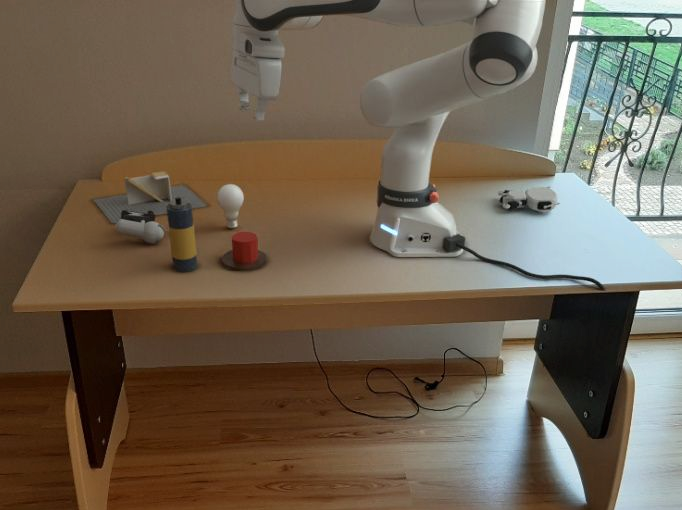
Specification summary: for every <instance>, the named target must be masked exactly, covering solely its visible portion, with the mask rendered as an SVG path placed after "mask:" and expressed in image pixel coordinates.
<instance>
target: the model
mask: <svg viewBox="0 0 682 510" xmlns="http://www.w3.org/2000/svg"><path fill="white" fill-rule="evenodd" d="M124 178H125V179H124V183H125V191H126V198H127V204H128V205H133V204H139V203H144V202H150V201H156V200H157V201H159V202H160V203H163V202H164V200H163V199H168V200H169V201H171V200H173V196H172V187H173V186H171V179H170V175H168V173H167V172H166V171H165V170H162V171H158V172H151V174H148V175H142V176H136V177H128V176H127V175H124Z"/></svg>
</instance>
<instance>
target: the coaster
mask: <svg viewBox="0 0 682 510" xmlns="http://www.w3.org/2000/svg"><path fill="white" fill-rule="evenodd" d="M267 262H268V258H267V254H266V253H265V252H264V251H262V250H260V249H258V259H257V260H256V261H254V262H252V263H239V262H236V261H235V260H234V259H233V251H232V249H230V250H228V251H226V252H225V253H224V254H222V256H221V263H222V265H223V267H224V268H227V269H228V270H232V271H237V272H250V271H254V270H257V269H260V268H262V267H264V266H265V265H266V264H267Z"/></svg>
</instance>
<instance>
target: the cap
mask: <svg viewBox="0 0 682 510" xmlns="http://www.w3.org/2000/svg"><path fill="white" fill-rule="evenodd" d="M258 241H259V240H258V235H257V234H256V233H254V232H252V231H238V232H235V233H234V234H232V236H231V248H232V249H231V250H232V251H233V259H234V260H235V261H236V262H239V263H252V262H254V261H256V260H257V259H258V250H259V246H258V245H259V243H258Z"/></svg>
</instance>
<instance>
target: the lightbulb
mask: <svg viewBox="0 0 682 510" xmlns="http://www.w3.org/2000/svg"><path fill="white" fill-rule="evenodd" d="M216 201H217V204H218V206H219V207H220V208H221V209H222V211H223V213H224V216H225V219H226V227H227V228H228V229H231V230H233V229H236V228H237V227H238V226H239V225H238V224H239V223H238V217H239V212H240V209H241V208H242V206H243V204H244V201H245V195H244V192H243V190H242V189H241V188H240V187H239V186H238V185H236V184H233V183H227V184H224V185H222V186H221V187H220V188H219V189H218V191H217V195H216Z"/></svg>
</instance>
